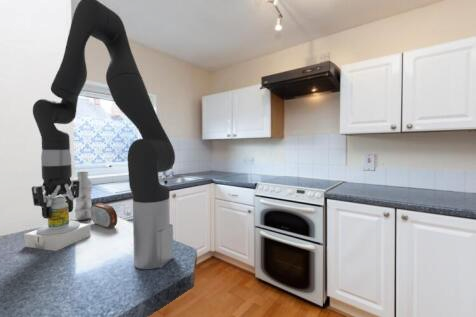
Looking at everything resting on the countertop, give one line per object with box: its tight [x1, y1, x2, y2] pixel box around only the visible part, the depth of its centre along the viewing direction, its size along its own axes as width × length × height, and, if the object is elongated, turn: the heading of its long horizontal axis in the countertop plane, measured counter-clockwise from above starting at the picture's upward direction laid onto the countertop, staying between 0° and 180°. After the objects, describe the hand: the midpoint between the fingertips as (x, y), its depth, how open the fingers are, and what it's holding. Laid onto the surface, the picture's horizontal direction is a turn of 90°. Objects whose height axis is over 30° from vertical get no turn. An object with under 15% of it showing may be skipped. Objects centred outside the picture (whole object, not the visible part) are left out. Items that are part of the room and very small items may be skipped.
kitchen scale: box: [24, 220, 91, 252], centre depth 75 cm, size 12×12×5 cm
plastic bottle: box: [74, 171, 93, 221], centre depth 96 cm, size 6×7×20 cm
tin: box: [90, 202, 118, 229], centre depth 89 cm, size 15×3×8 cm, turn 58°
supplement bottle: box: [47, 195, 70, 229], centre depth 74 cm, size 5×5×10 cm
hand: (58, 214), depth 75 cm, fingers open, 6 cm apart
